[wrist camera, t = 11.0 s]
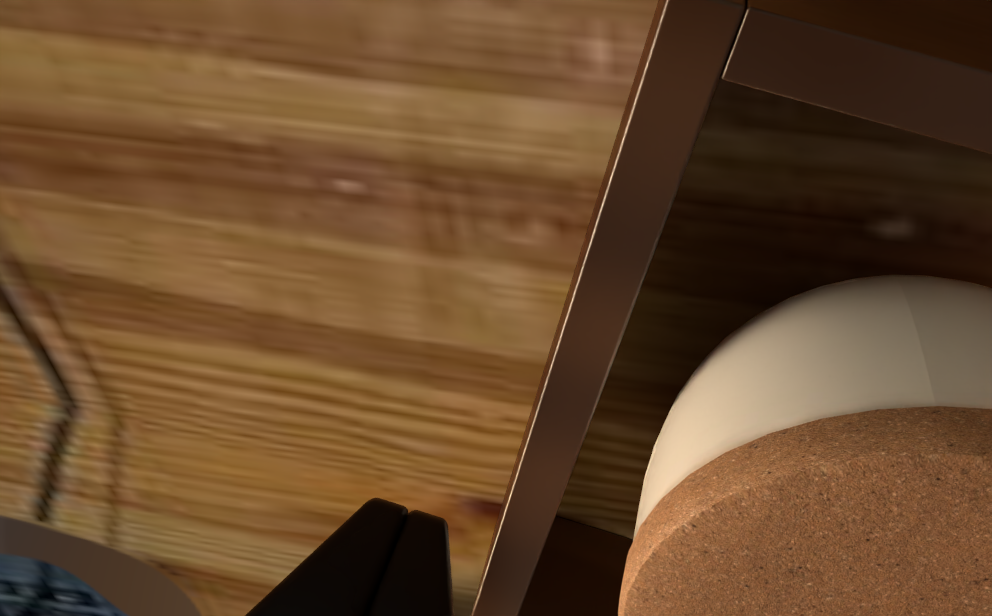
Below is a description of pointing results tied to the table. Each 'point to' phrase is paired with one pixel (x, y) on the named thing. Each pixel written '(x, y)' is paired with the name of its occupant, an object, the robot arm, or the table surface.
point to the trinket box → (828, 462)
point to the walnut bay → (647, 203)
